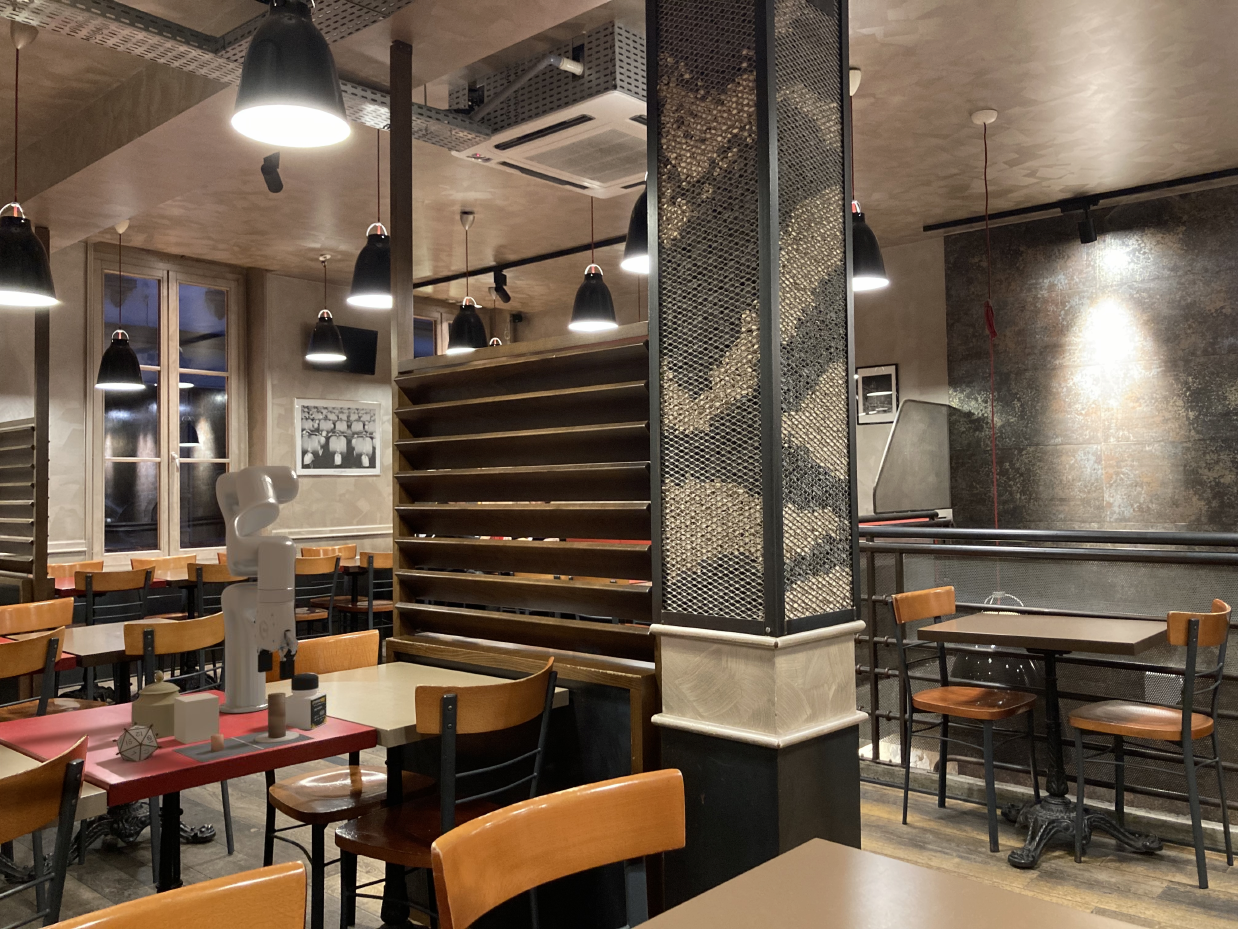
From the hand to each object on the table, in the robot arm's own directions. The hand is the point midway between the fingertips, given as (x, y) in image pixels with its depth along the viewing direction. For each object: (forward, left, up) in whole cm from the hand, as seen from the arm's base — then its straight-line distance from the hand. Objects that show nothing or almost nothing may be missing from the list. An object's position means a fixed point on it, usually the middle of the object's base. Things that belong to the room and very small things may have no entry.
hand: (275, 675), depth 206 cm
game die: (-6, -26, -15) cm, 31 cm away
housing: (-16, -12, -10) cm, 22 cm away
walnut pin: (+1, 0, -13) cm, 13 cm away
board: (0, -7, -15) cm, 16 cm away
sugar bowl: (-26, -15, -15) cm, 34 cm away
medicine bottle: (-9, +12, -15) cm, 21 cm away
